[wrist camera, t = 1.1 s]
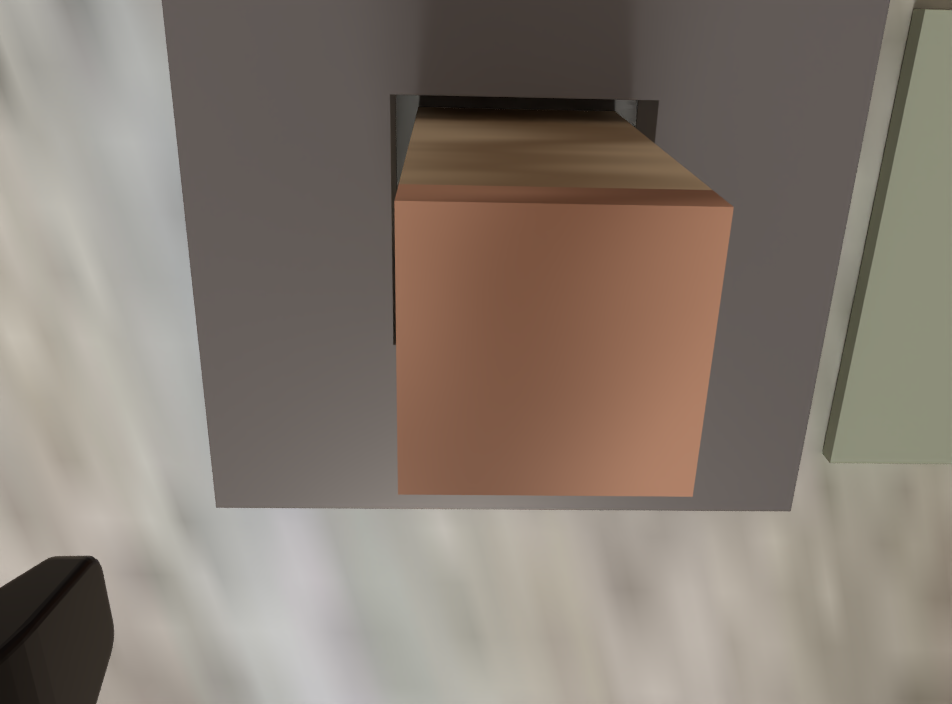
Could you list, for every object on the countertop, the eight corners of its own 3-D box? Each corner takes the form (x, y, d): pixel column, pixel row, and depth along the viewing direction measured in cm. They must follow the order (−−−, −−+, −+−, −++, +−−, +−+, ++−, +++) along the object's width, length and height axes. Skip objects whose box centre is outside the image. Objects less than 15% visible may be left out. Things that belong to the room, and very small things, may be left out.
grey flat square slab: (868, -125, 18) (916, -137, 16) (763, 469, 23) (790, 511, 22) (177, -146, 17) (144, -161, 16) (235, 465, 23) (216, 507, 21)
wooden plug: (614, 111, 20) (733, 207, 11) (599, 296, 21) (692, 497, 13) (418, 107, 20) (394, 200, 11) (418, 293, 21) (397, 494, 13)
